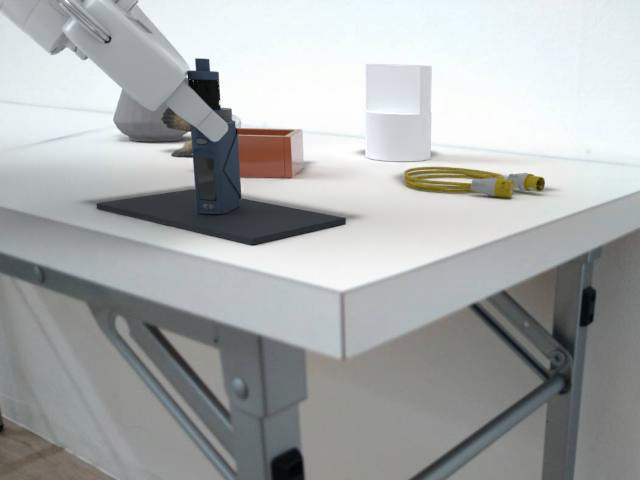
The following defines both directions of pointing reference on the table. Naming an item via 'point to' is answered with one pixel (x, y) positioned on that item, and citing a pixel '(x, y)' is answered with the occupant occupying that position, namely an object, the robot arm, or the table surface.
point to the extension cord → (474, 181)
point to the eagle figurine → (184, 129)
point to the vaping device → (214, 149)
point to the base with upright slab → (398, 112)
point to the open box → (270, 152)
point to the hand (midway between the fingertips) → (222, 130)
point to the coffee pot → (143, 121)
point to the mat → (224, 217)
